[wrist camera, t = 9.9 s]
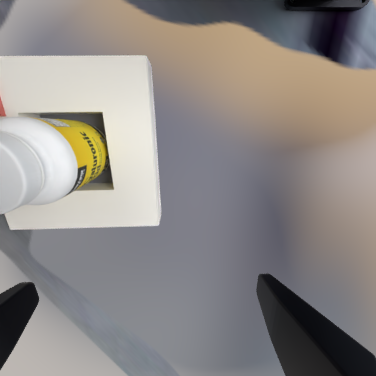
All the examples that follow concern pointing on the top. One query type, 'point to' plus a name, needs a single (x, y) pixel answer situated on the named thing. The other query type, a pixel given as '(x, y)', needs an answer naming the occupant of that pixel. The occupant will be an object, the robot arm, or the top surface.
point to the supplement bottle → (47, 159)
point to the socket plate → (100, 118)
